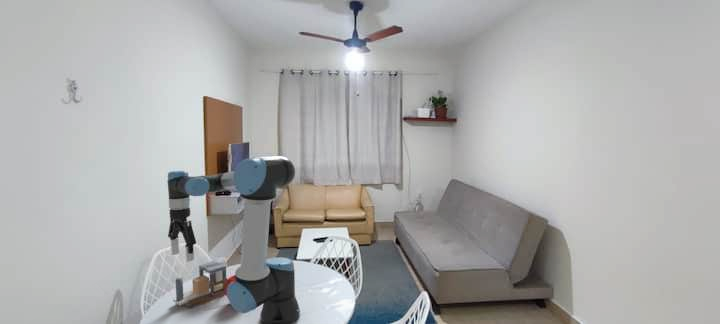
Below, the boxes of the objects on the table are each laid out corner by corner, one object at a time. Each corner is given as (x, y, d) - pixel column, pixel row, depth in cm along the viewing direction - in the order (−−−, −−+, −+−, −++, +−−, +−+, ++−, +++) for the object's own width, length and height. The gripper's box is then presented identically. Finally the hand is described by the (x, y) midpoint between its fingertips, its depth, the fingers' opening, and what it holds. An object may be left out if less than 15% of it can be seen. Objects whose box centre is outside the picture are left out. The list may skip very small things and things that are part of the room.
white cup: (210, 277, 162) (209, 258, 161) (227, 274, 165) (226, 256, 165) (210, 283, 155) (209, 263, 154) (227, 280, 158) (226, 261, 158)
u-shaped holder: (212, 292, 142) (211, 270, 141) (179, 305, 131) (178, 282, 130) (205, 288, 146) (204, 267, 145) (173, 300, 135) (171, 278, 134)
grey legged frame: (238, 288, 150) (237, 262, 149) (189, 308, 132) (188, 279, 131) (225, 282, 156) (224, 257, 155) (178, 300, 139) (176, 272, 138)
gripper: (203, 209, 128) (206, 260, 129) (176, 203, 143) (178, 249, 144) (184, 213, 122) (187, 266, 123) (157, 206, 137) (160, 254, 138)
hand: (182, 257), depth 134 cm, fingers open, 13 cm apart
